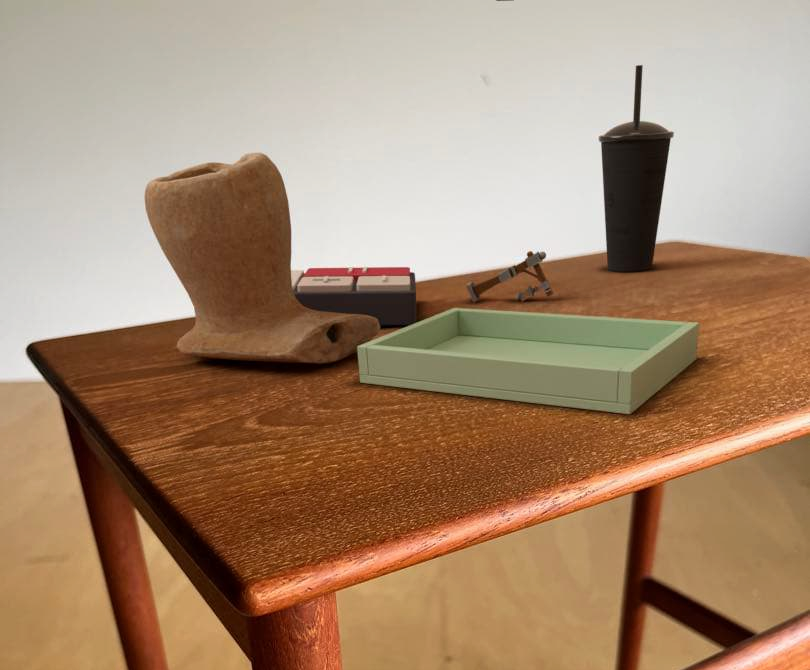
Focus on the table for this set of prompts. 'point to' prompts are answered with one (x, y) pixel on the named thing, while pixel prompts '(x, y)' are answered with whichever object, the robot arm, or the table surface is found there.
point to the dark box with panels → (359, 292)
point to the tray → (534, 357)
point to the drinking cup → (633, 187)
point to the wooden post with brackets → (511, 272)
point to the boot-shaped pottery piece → (243, 266)
